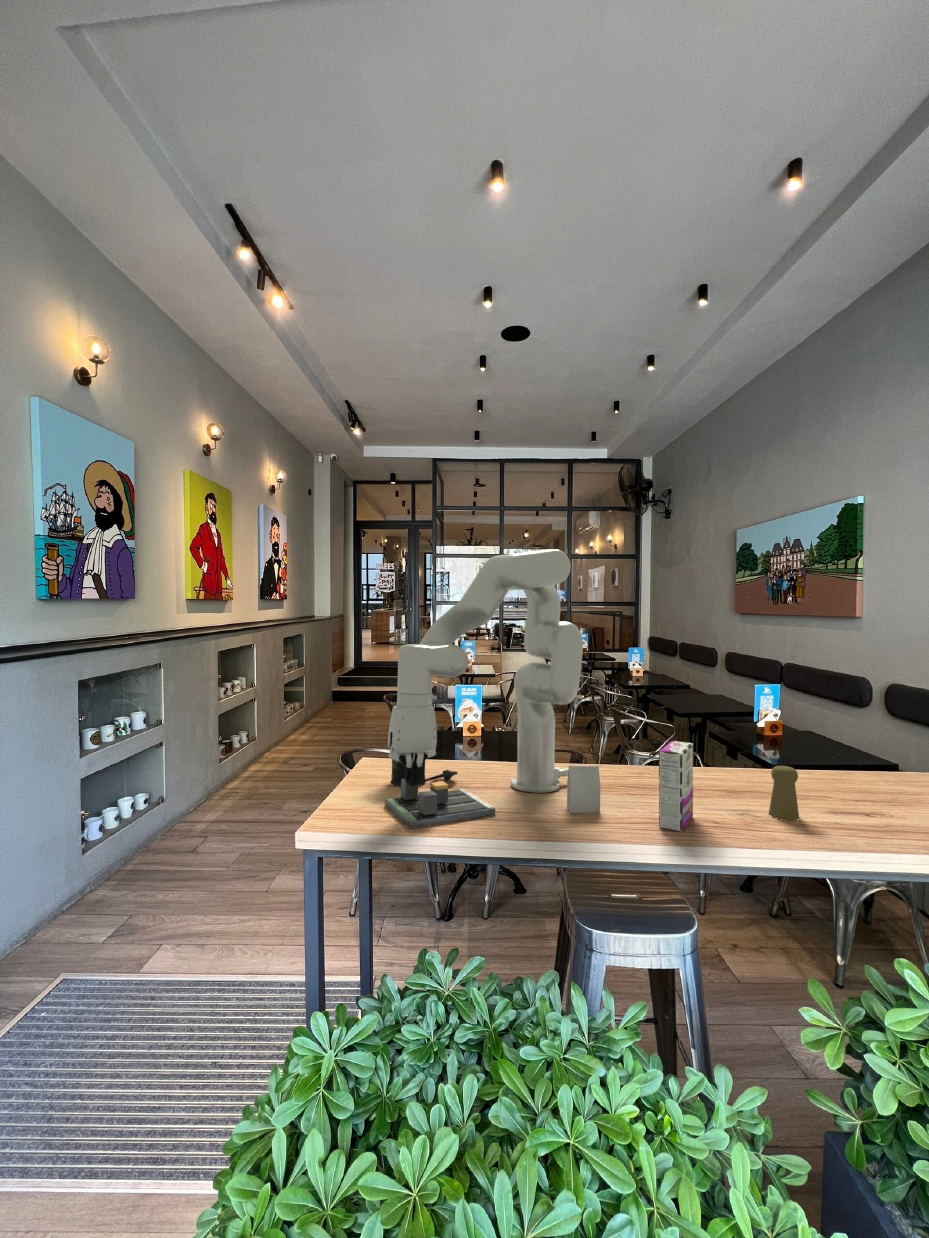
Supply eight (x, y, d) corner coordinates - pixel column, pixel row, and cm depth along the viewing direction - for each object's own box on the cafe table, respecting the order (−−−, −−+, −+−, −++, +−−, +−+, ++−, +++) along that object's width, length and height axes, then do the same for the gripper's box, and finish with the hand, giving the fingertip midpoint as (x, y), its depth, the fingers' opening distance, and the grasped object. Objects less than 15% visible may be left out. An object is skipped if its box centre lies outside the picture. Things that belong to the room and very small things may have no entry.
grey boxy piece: (600, 812, 135) (600, 768, 135) (570, 812, 135) (570, 768, 135) (596, 807, 139) (596, 763, 139) (566, 807, 139) (567, 763, 139)
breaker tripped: (442, 798, 138) (442, 781, 137) (448, 802, 135) (448, 784, 135) (430, 800, 136) (430, 782, 136) (435, 804, 134) (435, 786, 133)
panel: (463, 794, 147) (463, 787, 147) (495, 815, 133) (495, 807, 133) (385, 805, 138) (385, 798, 138) (409, 828, 124) (409, 820, 124)
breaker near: (431, 808, 130) (431, 790, 130) (437, 813, 128) (437, 794, 128) (418, 810, 129) (418, 792, 129) (424, 815, 126) (424, 796, 126)
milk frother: (383, 782, 158) (383, 725, 157) (430, 771, 168) (430, 718, 168) (416, 794, 147) (417, 734, 147) (464, 782, 158) (464, 726, 158)
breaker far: (413, 794, 140) (413, 777, 140) (418, 798, 138) (418, 780, 138) (401, 796, 139) (401, 779, 139) (405, 800, 136) (405, 782, 136)
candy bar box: (670, 813, 135) (671, 740, 135) (693, 817, 133) (694, 742, 132) (657, 828, 126) (658, 749, 125) (682, 833, 123) (683, 752, 123)
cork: (787, 822, 130) (788, 771, 130) (762, 814, 135) (763, 765, 135) (805, 818, 132) (806, 768, 132) (779, 810, 138) (780, 762, 138)
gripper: (438, 697, 139) (436, 777, 139) (376, 699, 133) (373, 783, 133) (452, 701, 132) (449, 785, 132) (387, 704, 126) (384, 792, 126)
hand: (411, 784), depth 132 cm, fingers closed
